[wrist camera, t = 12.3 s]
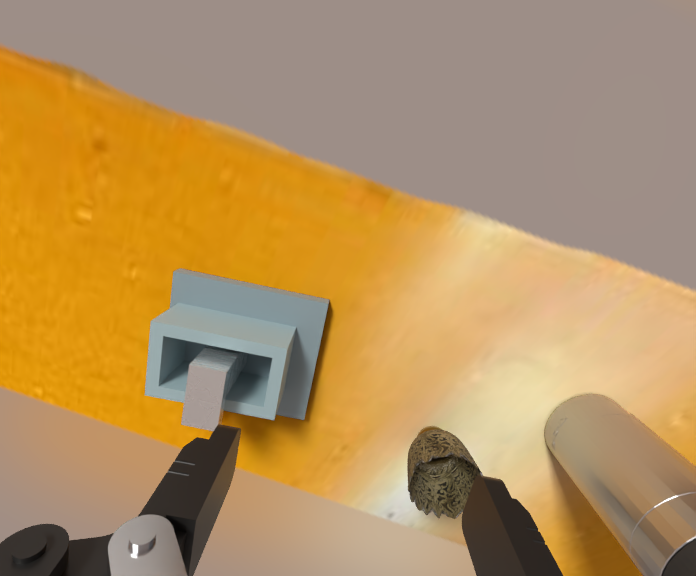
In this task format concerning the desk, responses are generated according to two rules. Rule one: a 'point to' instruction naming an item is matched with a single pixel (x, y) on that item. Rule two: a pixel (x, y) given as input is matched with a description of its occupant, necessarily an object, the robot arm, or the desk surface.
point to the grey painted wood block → (210, 385)
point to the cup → (440, 472)
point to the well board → (239, 342)
